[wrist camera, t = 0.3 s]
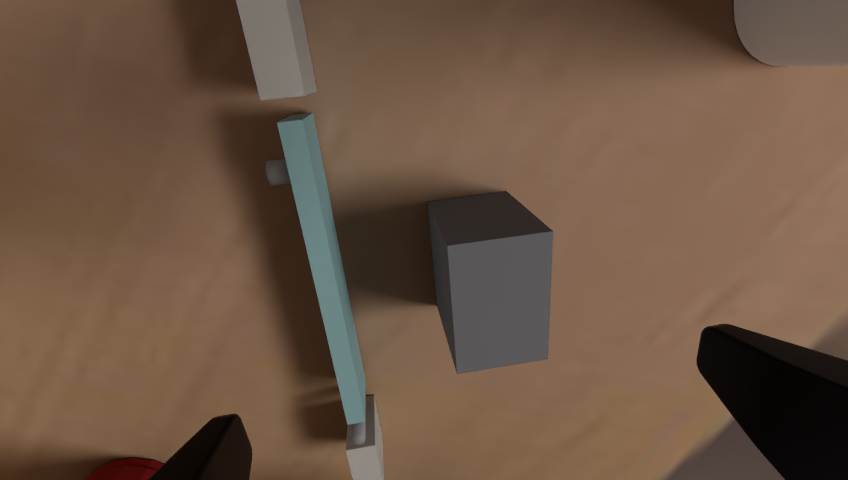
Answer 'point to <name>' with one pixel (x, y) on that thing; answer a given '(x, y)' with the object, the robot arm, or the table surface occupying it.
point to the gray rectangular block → (491, 280)
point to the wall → (291, 77)
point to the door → (322, 253)
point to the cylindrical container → (794, 31)
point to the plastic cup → (126, 470)
